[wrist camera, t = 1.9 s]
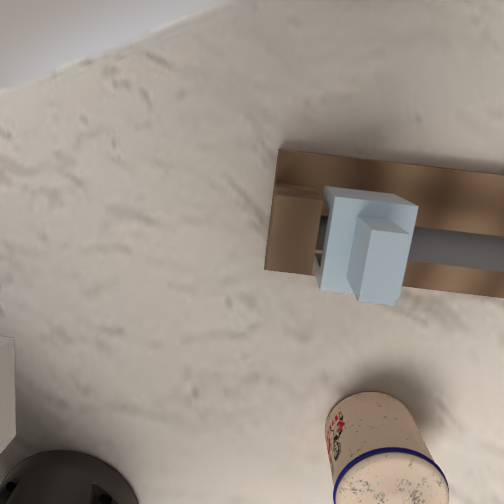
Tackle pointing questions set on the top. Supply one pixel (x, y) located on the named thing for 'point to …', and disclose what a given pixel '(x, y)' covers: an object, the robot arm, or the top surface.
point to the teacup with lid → (380, 454)
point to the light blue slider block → (365, 244)
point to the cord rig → (426, 226)
